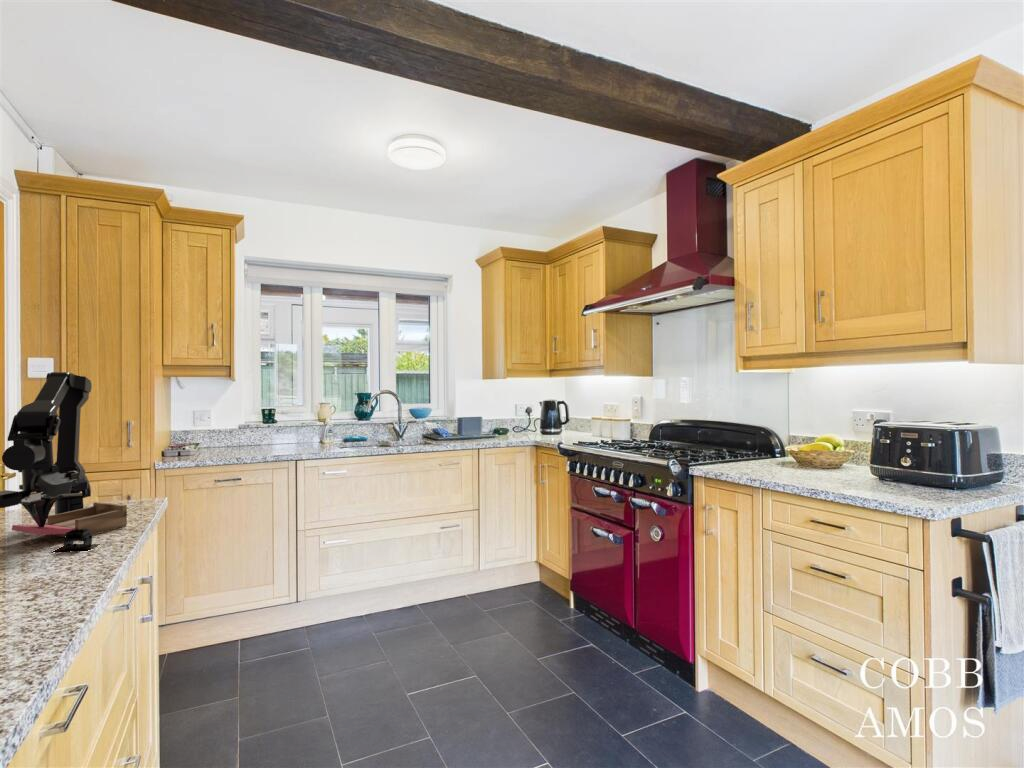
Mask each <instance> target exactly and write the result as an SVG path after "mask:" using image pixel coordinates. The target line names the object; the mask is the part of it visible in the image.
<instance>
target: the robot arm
mask: <svg viewBox="0 0 1024 768" xmlns="http://www.w3.org/2000/svg"><path fill="white" fill-rule="evenodd" d="M45 379H46V381H45V383H44V384H43V386H42V387H41V389H40V390H39V392H38V394H37V396H36V397H35V399H34V401H32V402H31V403H28V404H25V405H24V406H22V407H21V408H20V409H19V411H18V412H17V413H16V414H15V415H14V417H13V418H12V422H11V425H10V428H9V432H8V436H7V442H13V445H11V446H10V447H8V448H6V449H5V450H4V451H3V453H2V455H1V461H2V463H3V465H4V466H5V467H6V468H8V469H9V470H11V471H17V472H18V473H22V474H21V476H22V484H19V488H18V489H19V491H16V490H6V489H5V490H0V509H4V508H9V507H14V506H18V505H22V506H23V508H24V509H25V510H26V511H27V512H28V513H29V515H30V516H31V517H32V519H33V521H34V522H35V524H36V525H38V526H39V527H44V525H46V523H47V518H48V516H50V512H51V511H52V508H53V506H54V515H55V514H60V513H65V512H69V511H74V510H79V509H83V508H85V507H84V499H85V498H88V497H91V496H92V486H91V485H90V482H89V479H88V477H87V475H86V469H85V468H84V466H83V464H81V462H80V461H79V453H80V452H79V450H80V431H81V413H82V412H81V410H82V407H83V406H84V405H85V404H86V403H87V402H88V400H89V397H90V396H89V395H90V394H91V391H92V381H91V380H90V379H89V378H88V377H86V376H85V375H83V376H82V375H77V374H74V373H73V372H69V371H68V372H67V371H64V372H63V371H52V372H47V374H46V378H45ZM58 409H59V411H58ZM58 412H59V413H58ZM56 436H57V444H56V446H57V447H56V461H55V463H54V450H53V449H54V448H53V445H54V444H53V439H54V438H55V437H56Z"/></svg>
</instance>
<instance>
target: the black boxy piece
mask: <svg viewBox="0 0 1024 768" xmlns="http://www.w3.org/2000/svg"><path fill="white" fill-rule="evenodd" d="M65 535H66V537H64V536H63V545H62V546H63V547H61V546H60V547H61V548H59V547H58V548H59V549H57V548H56V549H57V550H55V549H54V550H55V551H53V550H52V551H53V552H55V553H53V552H52V551H50V552H51V553H50V554H56V553H57V554H60V553H59V552H66V553H71V552H70V551H88V550H91V549H93V548H94V547H97V546H98V545H100V544H101V543H94V544H93V535H92V533H90V529H81V530H72V531H69V532H67V533H65ZM74 541H75V542H76V541H78V542H82V543H74ZM88 552H89V551H88Z"/></svg>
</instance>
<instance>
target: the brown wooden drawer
mask: <svg viewBox="0 0 1024 768" xmlns="http://www.w3.org/2000/svg"><path fill="white" fill-rule="evenodd" d="M92 505H93V506H88V507H84V508H83V509H79V510H74V511H69V512H65V513H60V514H55V513H54V514H52V515H48V518H47V520H46V523H47V524H46V525H54V526H61V527H68V528H75V530H81V529H90V533H92V534H94V535H96V534H95V533H98V534H100V533H99V532H101V533H103V532H102V531H105V532H108V531H107V530H109V531H111V530H110V529H113V530H115V529H114V528H117V529H119V528H118V527H120V528H123V527H122V526H124V527H127V526H126V525H128V522H127V521H128V514H127V513H128V511H127V510H128V509H127V508H128V507H127V505H126V504H119V503H111V502H102V501H95V502H93V504H92ZM57 535H60V536H59V537H64V536H66V535H65V534H54V535H53V536H57Z"/></svg>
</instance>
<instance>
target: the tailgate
mask: <svg viewBox="0 0 1024 768" xmlns="http://www.w3.org/2000/svg"><path fill="white" fill-rule="evenodd" d="M72 530H75V528H68V527H61V526H54V525H47V524H45V525H44V527H39V526H38V525H37V524H12V526H11V531H13V532H14V531H15V532H20V533H21V532H22V533H23V534H24V535H25V536H32V537H39V536H41V535H50V534H65V533H67V532H69V531H72Z"/></svg>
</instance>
